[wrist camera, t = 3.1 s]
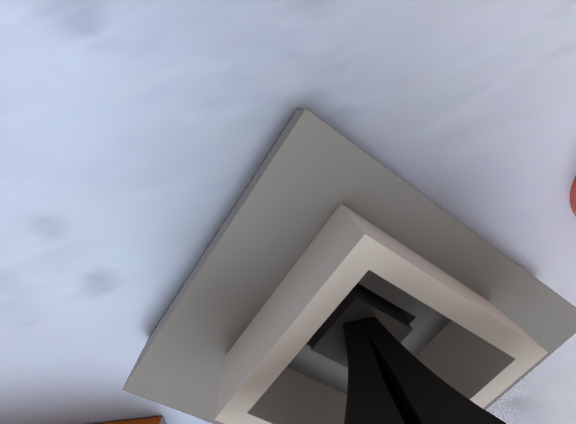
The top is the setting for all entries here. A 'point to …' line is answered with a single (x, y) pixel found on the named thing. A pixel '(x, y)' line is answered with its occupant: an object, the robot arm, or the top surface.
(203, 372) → the grey square socket base
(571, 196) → the cap
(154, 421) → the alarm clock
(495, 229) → the top surface
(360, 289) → the button
